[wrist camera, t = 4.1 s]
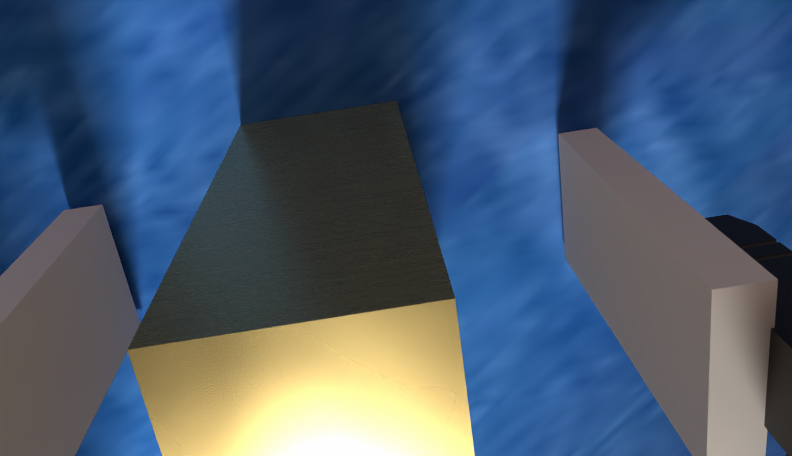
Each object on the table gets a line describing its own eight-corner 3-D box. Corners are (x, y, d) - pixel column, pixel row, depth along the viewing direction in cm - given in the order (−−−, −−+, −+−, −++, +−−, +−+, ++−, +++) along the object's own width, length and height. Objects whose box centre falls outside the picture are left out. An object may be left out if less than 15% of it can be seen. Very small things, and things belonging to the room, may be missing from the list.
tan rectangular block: (292, 347, 16) (247, 713, 9) (240, 124, 14) (127, 349, 7) (428, 326, 16) (501, 671, 9) (396, 101, 14) (454, 298, 7)
